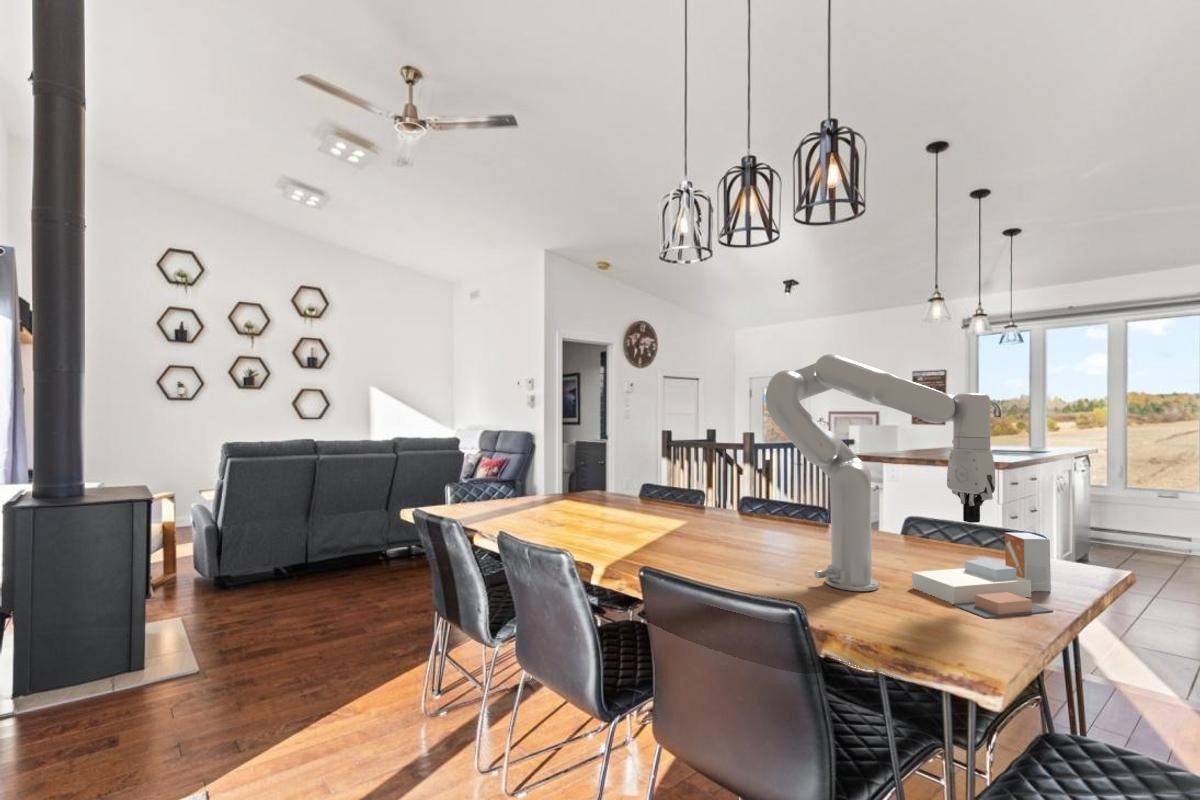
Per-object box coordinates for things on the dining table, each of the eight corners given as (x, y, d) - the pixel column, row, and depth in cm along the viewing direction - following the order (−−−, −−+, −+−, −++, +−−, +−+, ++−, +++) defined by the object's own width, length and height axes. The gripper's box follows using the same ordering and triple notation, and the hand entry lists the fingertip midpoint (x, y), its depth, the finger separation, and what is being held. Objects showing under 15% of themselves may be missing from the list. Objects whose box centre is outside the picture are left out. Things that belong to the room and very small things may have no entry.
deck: (954, 604, 136) (953, 586, 136) (912, 588, 148) (911, 572, 149) (1031, 597, 141) (1030, 580, 141) (984, 582, 153) (984, 566, 154)
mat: (985, 618, 126) (985, 617, 126) (952, 605, 135) (952, 603, 135) (1053, 611, 130) (1053, 610, 130) (1016, 599, 139) (1016, 598, 139)
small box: (1005, 582, 153) (1004, 532, 154) (1030, 582, 153) (1029, 532, 153) (1024, 591, 145) (1023, 538, 146) (1051, 592, 145) (1050, 539, 145)
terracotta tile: (974, 594, 134) (975, 605, 134) (998, 603, 128) (998, 614, 128) (1007, 592, 136) (1007, 602, 136) (1031, 600, 130) (1032, 611, 130)
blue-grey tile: (1016, 578, 142) (1016, 568, 142) (995, 580, 141) (995, 569, 141) (984, 569, 151) (984, 559, 151) (964, 570, 150) (964, 560, 150)
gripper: (934, 443, 147) (934, 516, 147) (984, 446, 133) (984, 528, 132) (960, 443, 149) (960, 515, 148) (1012, 446, 134) (1012, 527, 134)
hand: (971, 521), depth 140 cm, fingers closed
